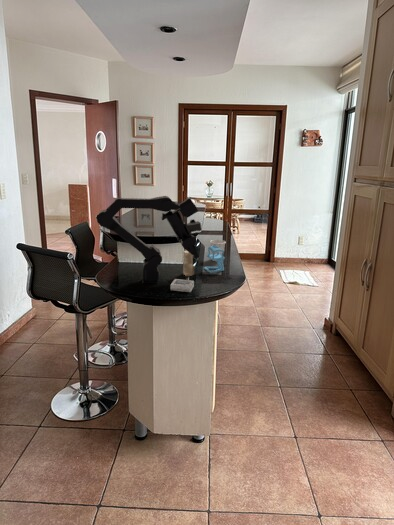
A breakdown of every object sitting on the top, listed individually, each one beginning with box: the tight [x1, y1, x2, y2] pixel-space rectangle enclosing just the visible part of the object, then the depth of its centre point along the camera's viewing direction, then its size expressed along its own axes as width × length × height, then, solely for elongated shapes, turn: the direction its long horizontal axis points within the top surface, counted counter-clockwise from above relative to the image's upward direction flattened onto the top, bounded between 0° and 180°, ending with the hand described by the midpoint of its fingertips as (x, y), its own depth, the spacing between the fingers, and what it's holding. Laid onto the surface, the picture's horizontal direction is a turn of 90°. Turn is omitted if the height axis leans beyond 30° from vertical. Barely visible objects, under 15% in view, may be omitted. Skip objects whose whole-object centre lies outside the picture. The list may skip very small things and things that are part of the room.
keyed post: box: [182, 250, 195, 277], centre depth 168 cm, size 5×4×11 cm
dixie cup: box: [209, 239, 227, 262], centre depth 193 cm, size 8×8×10 cm
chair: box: [204, 245, 226, 274], centre depth 175 cm, size 8×8×12 cm
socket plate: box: [170, 278, 195, 293], centre depth 152 cm, size 8×7×2 cm
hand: (195, 254), depth 159 cm, fingers open, 9 cm apart
